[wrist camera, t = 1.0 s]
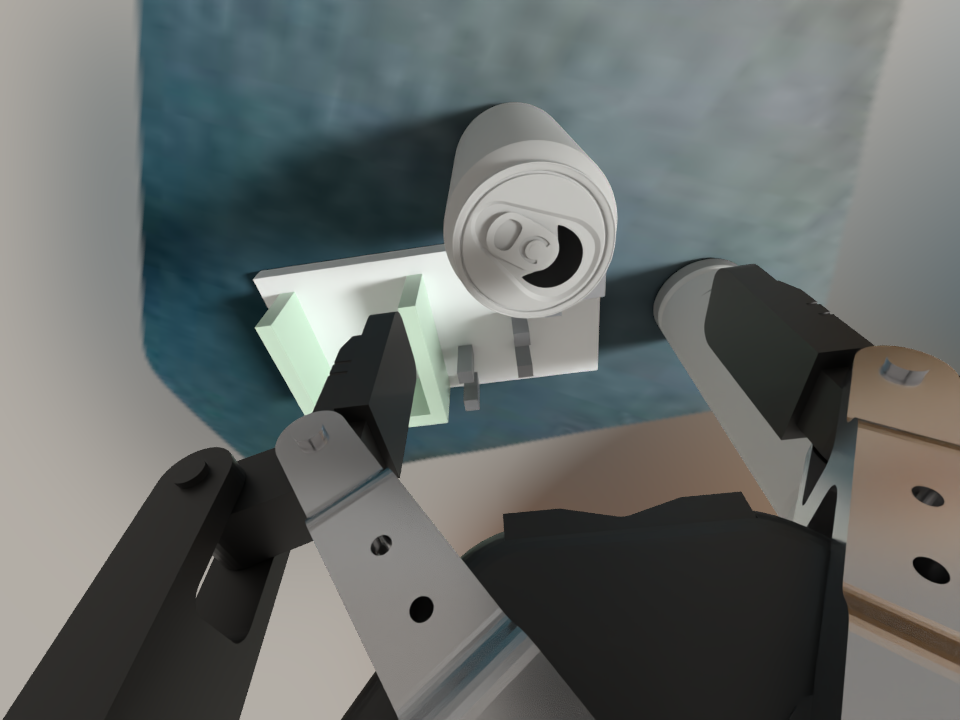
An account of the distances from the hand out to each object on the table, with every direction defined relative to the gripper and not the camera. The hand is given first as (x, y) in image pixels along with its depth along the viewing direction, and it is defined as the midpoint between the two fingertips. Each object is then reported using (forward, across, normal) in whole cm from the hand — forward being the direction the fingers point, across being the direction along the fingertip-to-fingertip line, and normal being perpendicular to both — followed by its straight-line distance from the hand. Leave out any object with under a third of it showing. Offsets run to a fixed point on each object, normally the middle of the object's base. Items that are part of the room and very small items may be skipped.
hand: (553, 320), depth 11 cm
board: (+16, +6, +9) cm, 20 cm away
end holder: (+15, +11, +10) cm, 21 cm away
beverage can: (+17, 0, 0) cm, 17 cm away
